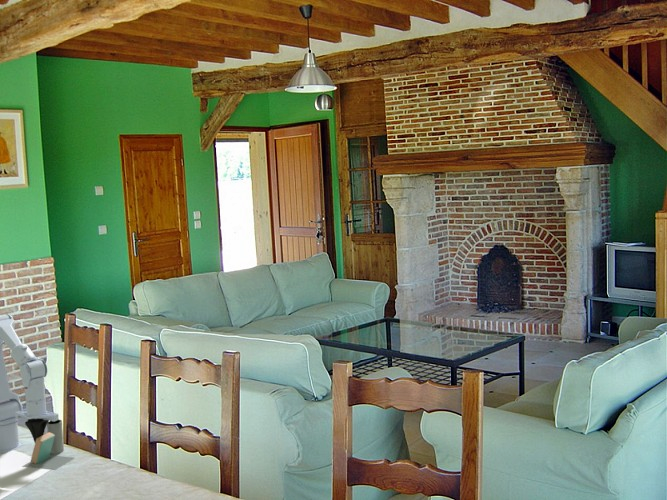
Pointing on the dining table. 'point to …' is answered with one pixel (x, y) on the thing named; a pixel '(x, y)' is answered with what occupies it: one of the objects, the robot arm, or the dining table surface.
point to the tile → (42, 448)
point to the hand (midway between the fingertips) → (38, 441)
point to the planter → (56, 436)
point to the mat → (50, 462)
